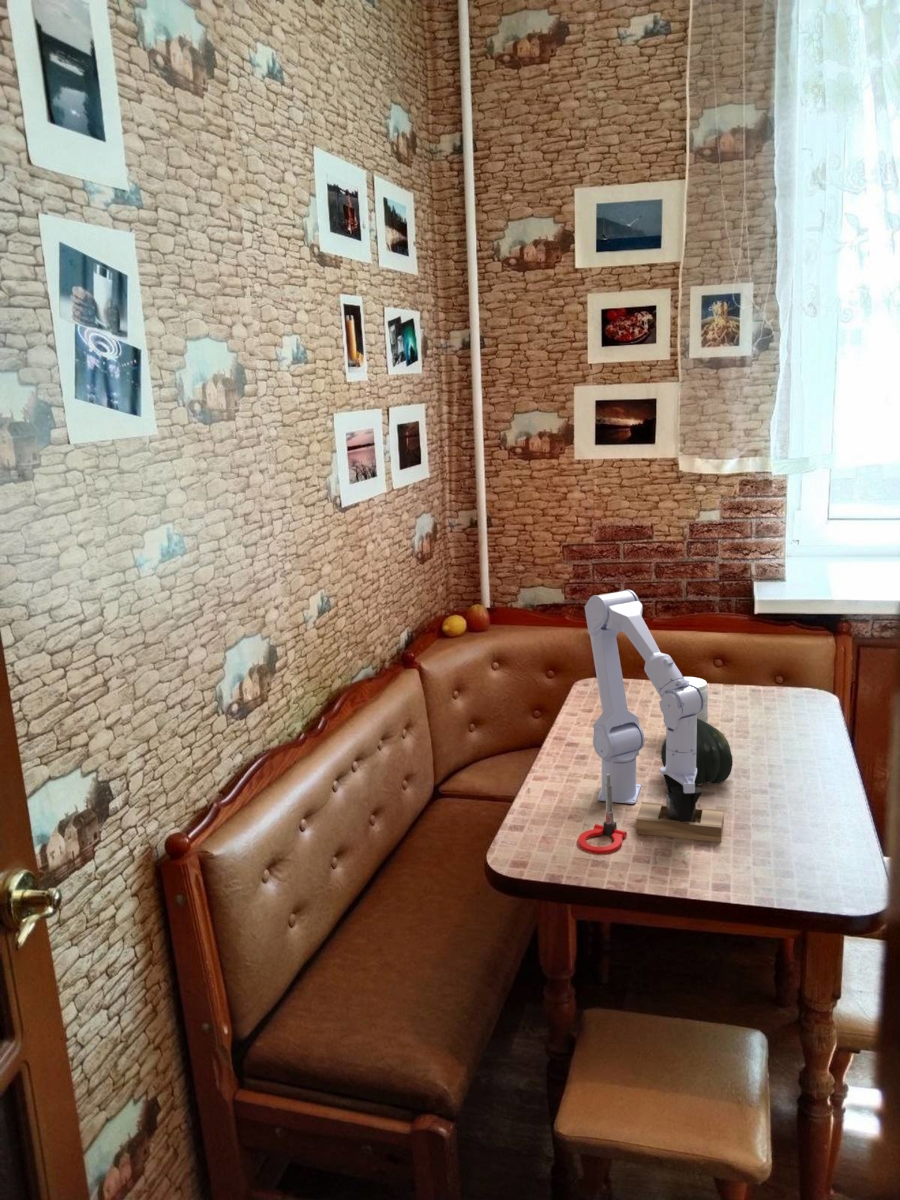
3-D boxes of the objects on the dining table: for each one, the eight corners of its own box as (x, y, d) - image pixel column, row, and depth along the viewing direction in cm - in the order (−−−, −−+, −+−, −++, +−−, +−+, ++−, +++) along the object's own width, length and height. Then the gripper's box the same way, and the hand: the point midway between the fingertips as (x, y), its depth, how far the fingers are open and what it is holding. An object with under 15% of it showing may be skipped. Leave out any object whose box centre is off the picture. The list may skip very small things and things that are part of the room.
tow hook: (609, 860, 179) (631, 838, 186) (607, 797, 176) (629, 777, 183) (570, 849, 184) (593, 828, 191) (566, 787, 180) (590, 768, 188)
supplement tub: (715, 738, 234) (716, 681, 231) (693, 749, 228) (694, 690, 225) (680, 729, 241) (681, 673, 238) (659, 740, 235) (659, 682, 232)
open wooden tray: (641, 815, 195) (641, 801, 195) (723, 823, 190) (723, 809, 189) (636, 833, 188) (636, 818, 187) (721, 842, 183) (721, 827, 182)
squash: (735, 776, 199) (730, 708, 206) (661, 775, 202) (659, 709, 209) (732, 796, 211) (727, 732, 218) (662, 796, 214) (660, 732, 222)
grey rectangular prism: (666, 820, 190) (666, 792, 189) (691, 819, 190) (691, 791, 189) (669, 827, 187) (669, 799, 186) (695, 826, 187) (695, 798, 186)
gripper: (652, 734, 192) (652, 797, 195) (668, 762, 178) (667, 829, 181) (688, 733, 192) (687, 796, 195) (706, 761, 178) (705, 828, 181)
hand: (680, 812), depth 188 cm, fingers open, 7 cm apart
